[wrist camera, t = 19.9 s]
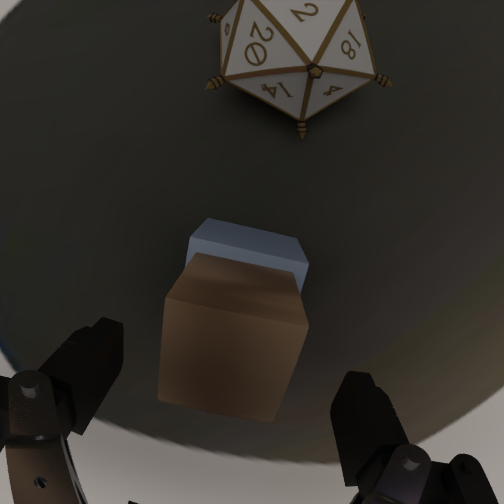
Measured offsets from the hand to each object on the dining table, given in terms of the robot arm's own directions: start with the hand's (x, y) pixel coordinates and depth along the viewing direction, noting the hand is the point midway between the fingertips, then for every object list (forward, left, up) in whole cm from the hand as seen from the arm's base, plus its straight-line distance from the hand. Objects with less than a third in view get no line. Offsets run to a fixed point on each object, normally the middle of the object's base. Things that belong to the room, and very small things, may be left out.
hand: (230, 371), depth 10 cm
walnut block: (0, 0, -5) cm, 5 cm away
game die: (0, -13, -10) cm, 17 cm away
